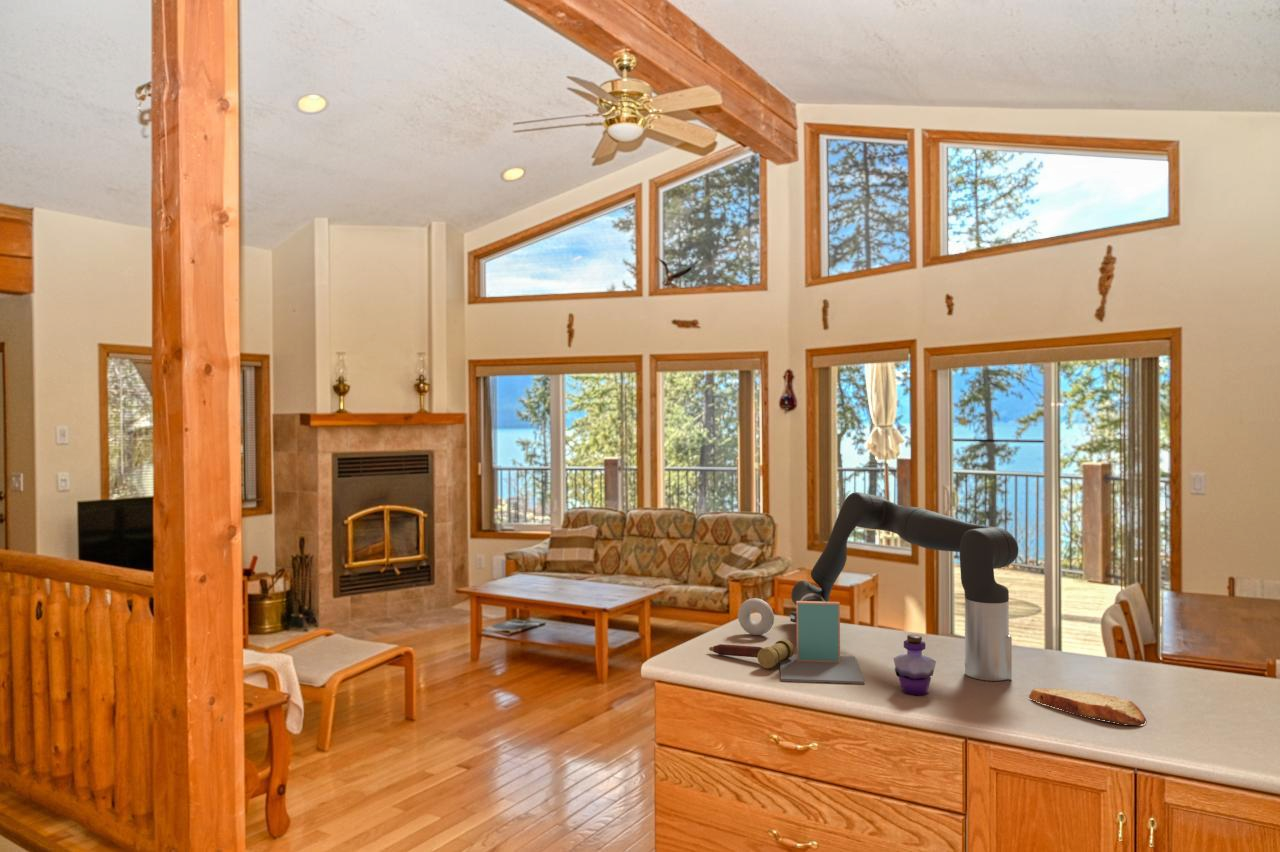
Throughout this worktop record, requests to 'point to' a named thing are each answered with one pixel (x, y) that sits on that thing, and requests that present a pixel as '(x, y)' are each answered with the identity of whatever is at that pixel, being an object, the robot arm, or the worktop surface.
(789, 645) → the gavel
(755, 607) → the donut
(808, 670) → the mat
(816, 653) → the tile
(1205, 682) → the worktop surface
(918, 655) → the potion bottle
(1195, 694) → the worktop surface
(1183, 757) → the worktop surface
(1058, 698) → the slice of bread
